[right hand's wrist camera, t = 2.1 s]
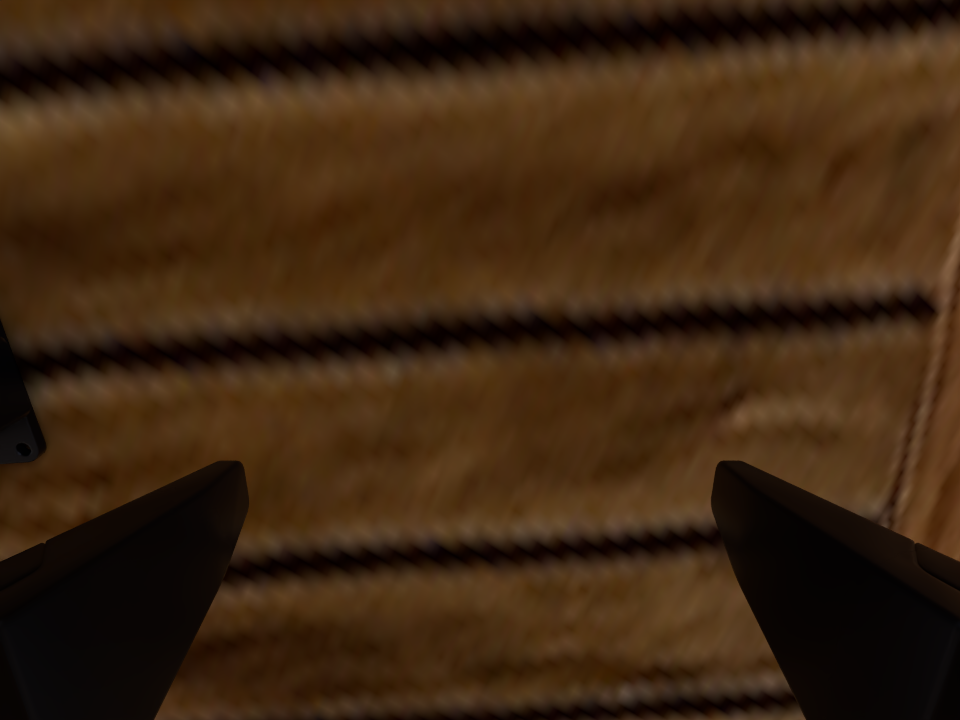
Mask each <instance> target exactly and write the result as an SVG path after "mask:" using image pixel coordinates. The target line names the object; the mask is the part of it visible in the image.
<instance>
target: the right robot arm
mask: <svg viewBox="0 0 960 720" xmlns="http://www.w3.org/2000/svg"><path fill="white" fill-rule="evenodd" d="M24 443H25V444H27V445H28V446H29V447H30V448H31V450H30V449H28V448H27V447H26V446H25V444H24ZM45 450H46V443H45V440H44V437H43V435H42V432H41V429H40V426H39V424H38V421H37V418H36V416H35V413H34V410H33V407H32V405H31V402H30V399H29V397H28V394H27V391H26V388H25V386H24V383H23V380H22V378H21V375H20V372H19V369H18V367H17V364H16V361H15V359H14V356H13V353H12V350H11V348H10V345H9V342H8V340H7V337H6V334H5V331H4V329H3V326H2V323H1V321H0V464H7V463H22V462H31V461H34V460H35V459H37V458H38V457H39V456H41V455H42V454H43V453H44V452H45ZM248 507H249V496H248V490H247V483H246V477H245V471H244V467H243V465H242V463H241V462H240V461H217V462H215V463H213V464H211V465H209V466H206V467H204V468H202V469H200V470H198V471H196V472H193V473H191V474H189V475H187V476H185V477H183V478H181V479H178V480H176V481H174V482H172V483H170V484H168V485H165V486H163V487H161V488H159V489H157V490H155V491H153V492H150V493H148V494H146V495H144V496H142V497H140V498H137V499H135V500H133V501H131V502H129V503H127V504H125V505H122V506H120V507H118V508H116V509H114V510H112V511H109V512H107V513H105V514H103V515H101V516H99V517H97V518H94V519H92V520H90V521H88V522H86V523H84V524H81V525H79V526H77V527H75V528H73V529H71V530H68V531H66V532H64V533H62V534H60V535H58V536H56V537H53V538H51V539H49V540H47V541H46V543H45V544H44V543H40V544H38V545H36V546H34V547H32V548H29V549H27V550H25V551H23V552H21V553H19V554H16V555H14V556H12V557H10V558H7V559H5V560H3V561H1V562H0V720H154V719H155V717H156V715H157V713H158V711H159V709H160V706H161V704H162V702H163V700H164V698H165V696H166V694H167V692H168V690H169V688H170V686H171V684H172V682H173V680H174V678H175V676H176V674H177V672H178V670H179V668H180V666H181V664H182V662H183V660H184V658H185V656H186V654H187V652H188V650H189V648H190V646H191V644H192V642H193V640H194V638H195V636H196V634H197V632H198V630H199V628H200V626H201V624H202V622H203V620H204V618H205V616H206V614H207V612H208V609H209V607H210V605H211V603H212V601H213V599H214V597H215V595H216V593H217V591H218V589H219V587H220V585H221V583H222V581H223V578H224V576H225V573H226V571H227V568H228V565H229V562H230V560H231V557H232V554H233V551H234V548H235V546H236V543H237V540H238V537H239V534H240V532H241V529H242V526H243V523H244V520H245V517H246V515H247V512H248ZM711 507H712V512H713V515H714V517H715V520H716V523H717V526H718V529H719V532H720V534H721V537H722V540H723V543H724V546H725V548H726V551H727V554H728V557H729V560H730V562H731V565H732V568H733V571H734V573H735V576H736V578H737V581H738V583H739V585H740V587H741V589H742V591H743V593H744V595H745V597H746V599H747V601H748V603H749V605H750V607H751V609H752V612H753V614H754V616H755V618H756V620H757V622H758V624H759V626H760V628H761V630H762V632H763V634H764V636H765V638H766V640H767V642H768V644H769V646H770V648H771V650H772V652H773V654H774V656H775V658H776V660H777V662H778V664H779V666H780V668H781V670H782V672H783V674H784V676H785V678H786V680H787V682H788V684H789V686H790V688H791V690H792V692H793V694H794V696H795V698H796V700H797V702H798V704H799V706H800V709H801V711H802V713H803V715H804V717H805V719H806V720H960V562H959V561H957V560H955V559H953V558H950V557H948V556H946V555H944V554H941V553H939V552H937V551H935V550H933V549H931V548H928V547H926V546H924V545H922V544H920V543H916V544H915V543H914V541H913V540H911V539H909V538H907V537H904V536H902V535H900V534H898V533H896V532H894V531H892V530H889V529H887V528H885V527H883V526H881V525H879V524H876V523H874V522H872V521H870V520H868V519H866V518H863V517H861V516H859V515H857V514H855V513H853V512H851V511H848V510H846V509H844V508H842V507H840V506H838V505H835V504H833V503H831V502H829V501H827V500H825V499H823V498H820V497H818V496H816V495H814V494H812V493H810V492H807V491H805V490H803V489H801V488H799V487H797V486H795V485H792V484H790V483H788V482H786V481H784V480H782V479H779V478H777V477H775V476H773V475H771V474H769V473H767V472H764V471H762V470H760V469H758V468H756V467H754V466H751V465H749V464H747V463H745V462H743V461H720V462H719V463H718V465H717V467H716V471H715V477H714V483H713V490H712V496H711Z"/></svg>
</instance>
